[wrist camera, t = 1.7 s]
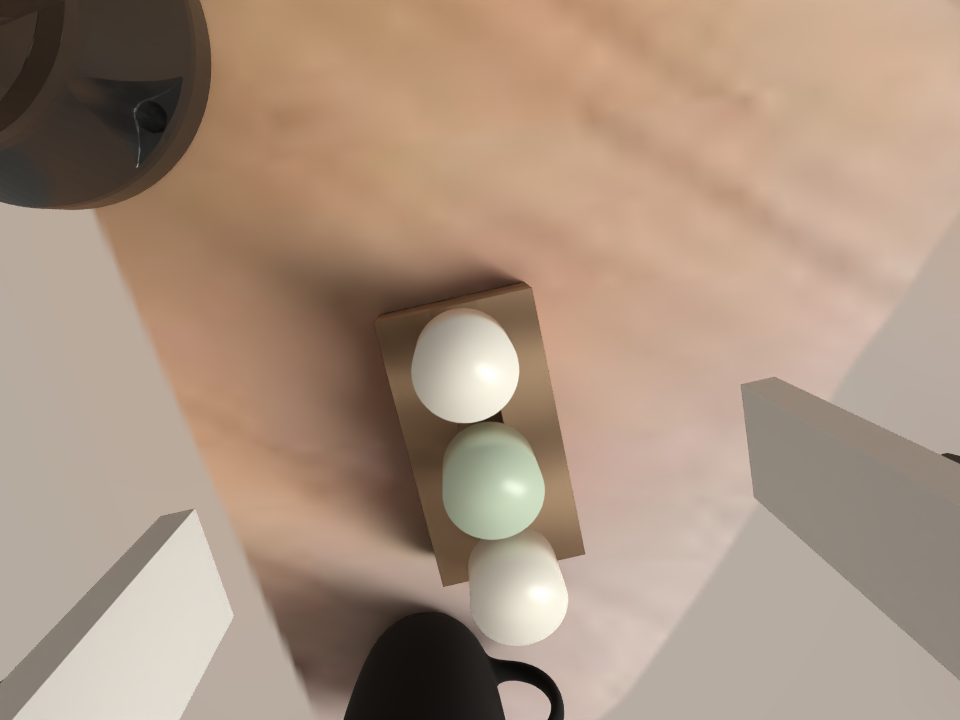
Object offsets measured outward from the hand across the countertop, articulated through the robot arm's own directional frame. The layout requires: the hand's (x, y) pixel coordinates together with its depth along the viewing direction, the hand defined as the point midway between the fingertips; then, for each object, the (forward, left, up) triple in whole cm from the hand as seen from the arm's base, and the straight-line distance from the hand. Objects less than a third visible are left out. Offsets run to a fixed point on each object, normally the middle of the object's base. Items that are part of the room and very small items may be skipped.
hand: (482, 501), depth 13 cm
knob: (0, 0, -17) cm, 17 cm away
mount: (+5, 0, -20) cm, 21 cm away
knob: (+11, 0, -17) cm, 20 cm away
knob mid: (+5, 0, -17) cm, 18 cm away
